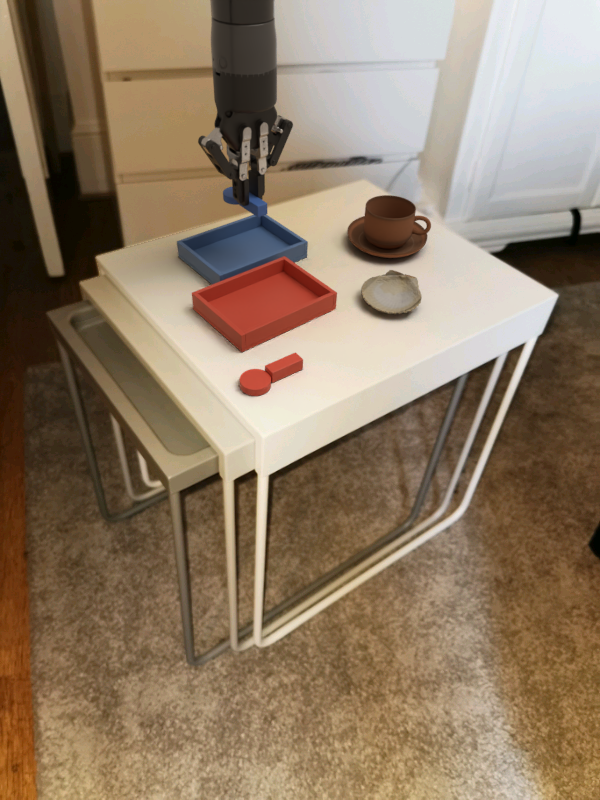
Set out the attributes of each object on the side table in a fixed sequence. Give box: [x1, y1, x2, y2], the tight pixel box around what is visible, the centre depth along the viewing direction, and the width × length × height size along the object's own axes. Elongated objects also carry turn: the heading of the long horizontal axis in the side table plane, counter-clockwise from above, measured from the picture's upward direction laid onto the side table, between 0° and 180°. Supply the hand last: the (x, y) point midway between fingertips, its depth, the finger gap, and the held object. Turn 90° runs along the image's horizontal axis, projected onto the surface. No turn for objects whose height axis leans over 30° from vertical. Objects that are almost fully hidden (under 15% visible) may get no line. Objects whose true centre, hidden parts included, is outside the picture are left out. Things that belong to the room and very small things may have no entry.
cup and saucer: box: [346, 194, 432, 259], centre depth 95 cm, size 12×12×6 cm
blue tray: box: [176, 214, 309, 285], centre depth 93 cm, size 15×11×3 cm
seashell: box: [360, 269, 423, 315], centre depth 85 cm, size 8×3×8 cm
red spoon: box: [239, 352, 304, 397], centre depth 74 cm, size 8×4×2 cm, turn 126°
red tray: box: [191, 256, 338, 353], centre depth 83 cm, size 15×11×3 cm
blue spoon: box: [222, 186, 268, 217], centre depth 86 cm, size 8×4×2 cm, turn 39°
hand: (249, 201), depth 86 cm, fingers closed on blue spoon, 1 cm apart
